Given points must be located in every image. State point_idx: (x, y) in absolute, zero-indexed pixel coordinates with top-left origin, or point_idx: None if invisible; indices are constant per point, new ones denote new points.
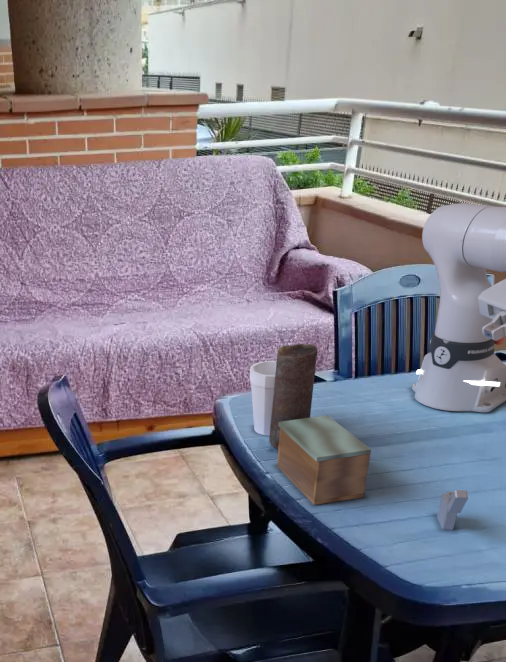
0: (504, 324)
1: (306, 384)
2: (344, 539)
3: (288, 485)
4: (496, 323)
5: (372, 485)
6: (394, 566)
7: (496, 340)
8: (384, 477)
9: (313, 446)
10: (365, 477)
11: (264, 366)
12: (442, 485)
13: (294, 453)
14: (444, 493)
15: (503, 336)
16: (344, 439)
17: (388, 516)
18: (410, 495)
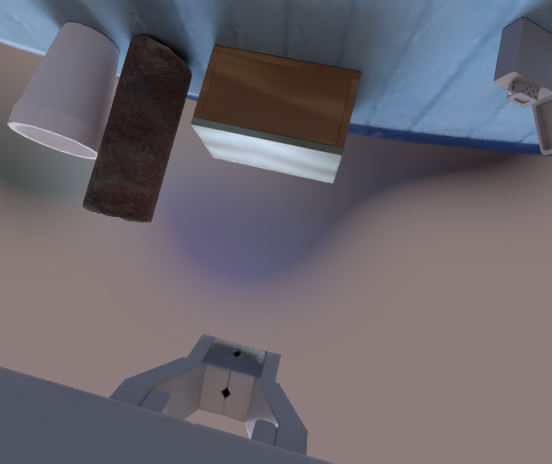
0: (250, 437)
1: (157, 173)
2: (438, 134)
3: None
4: (185, 406)
5: (329, 40)
6: (530, 137)
7: (280, 356)
8: (307, 5)
9: (301, 173)
10: (352, 108)
11: (31, 130)
12: None
13: None
14: (496, 80)
15: (275, 380)
16: (293, 153)
17: (433, 80)
18: (399, 14)
